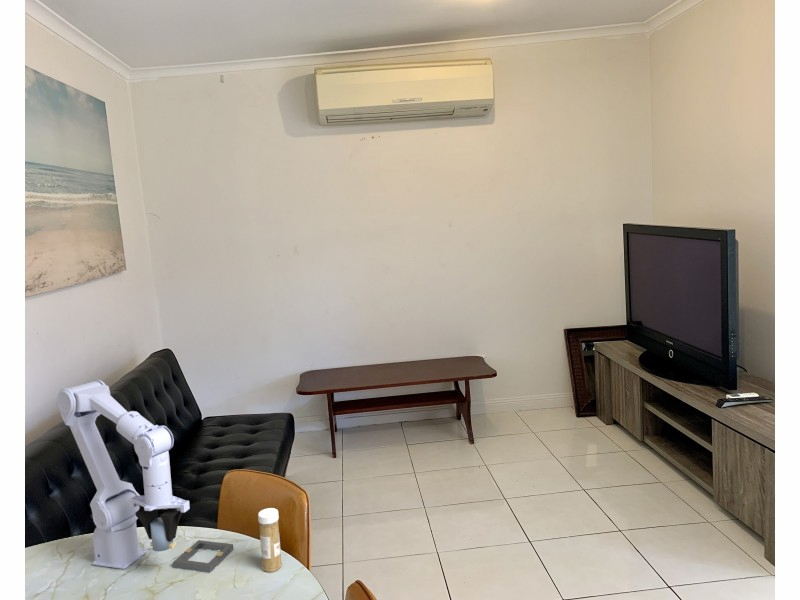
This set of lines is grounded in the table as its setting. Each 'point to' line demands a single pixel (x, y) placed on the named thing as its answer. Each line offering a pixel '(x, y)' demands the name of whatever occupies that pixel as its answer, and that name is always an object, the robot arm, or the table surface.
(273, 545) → the sprinkles bottle
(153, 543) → the blue-grey rounded tapered piece
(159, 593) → the table surface
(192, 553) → the collar
